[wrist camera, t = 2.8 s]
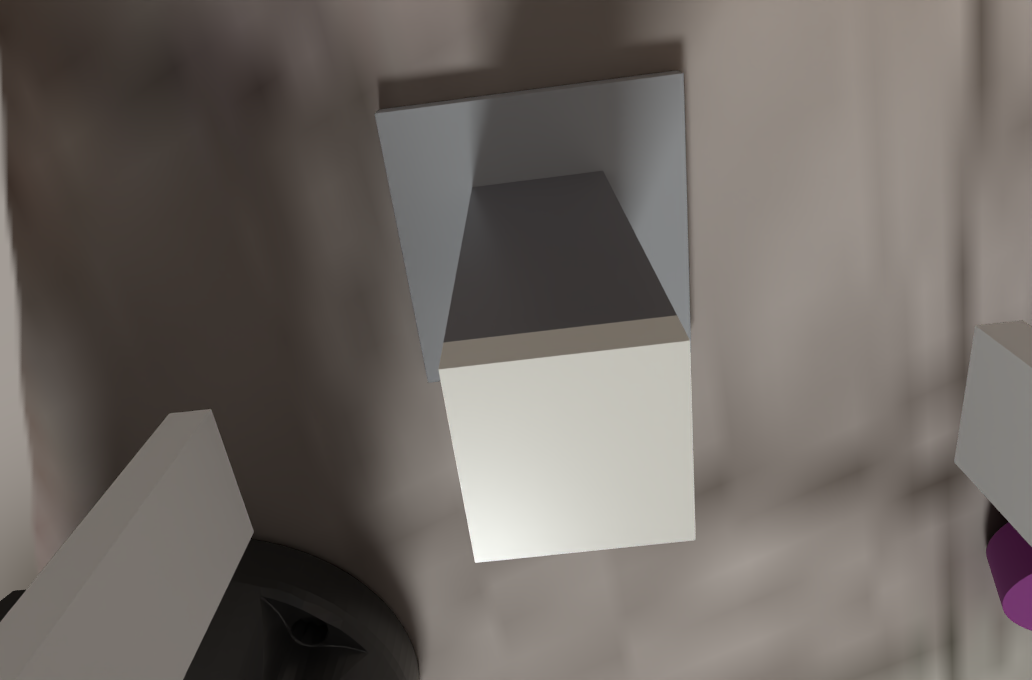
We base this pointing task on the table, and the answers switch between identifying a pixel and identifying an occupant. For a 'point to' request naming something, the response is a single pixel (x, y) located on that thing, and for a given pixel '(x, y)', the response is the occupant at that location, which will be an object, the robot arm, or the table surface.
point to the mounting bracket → (1012, 573)
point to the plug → (565, 377)
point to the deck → (536, 174)
